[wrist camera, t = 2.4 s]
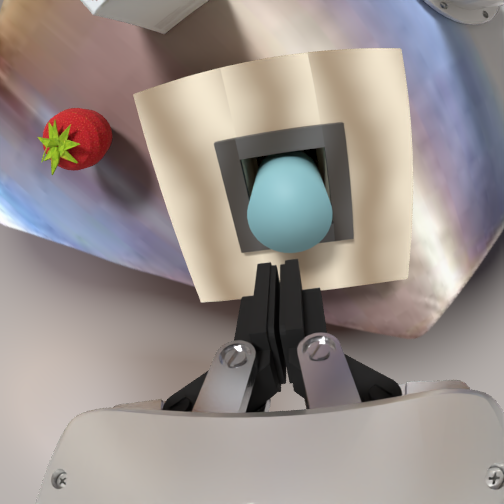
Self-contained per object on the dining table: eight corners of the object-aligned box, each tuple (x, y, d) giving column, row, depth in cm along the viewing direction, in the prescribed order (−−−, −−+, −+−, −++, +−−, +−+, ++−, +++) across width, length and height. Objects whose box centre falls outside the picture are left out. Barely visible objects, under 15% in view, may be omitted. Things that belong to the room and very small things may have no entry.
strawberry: (130, 158, 29) (77, 193, 21) (75, 149, 29) (17, 179, 21) (137, 104, 26) (79, 120, 18) (79, 99, 26) (16, 116, 18)
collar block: (370, 55, 22) (404, 48, 15) (384, 235, 31) (409, 282, 24) (170, 89, 25) (129, 95, 18) (217, 256, 35) (199, 306, 28)
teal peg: (315, 144, 22) (327, 170, 16) (323, 203, 24) (335, 247, 19) (250, 154, 23) (238, 183, 17) (263, 211, 25) (256, 257, 19)
